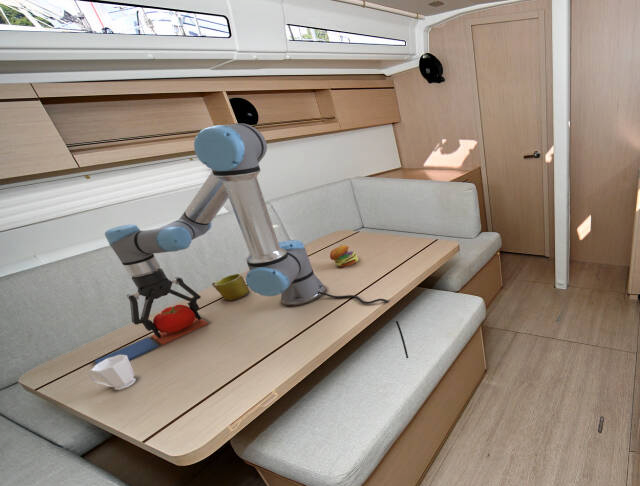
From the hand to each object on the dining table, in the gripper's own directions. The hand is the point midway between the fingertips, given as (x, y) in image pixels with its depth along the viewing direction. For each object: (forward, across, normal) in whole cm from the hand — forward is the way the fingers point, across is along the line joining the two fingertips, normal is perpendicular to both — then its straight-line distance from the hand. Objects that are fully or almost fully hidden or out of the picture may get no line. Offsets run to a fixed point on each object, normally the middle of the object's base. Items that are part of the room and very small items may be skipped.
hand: (179, 327), depth 123 cm
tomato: (0, 0, 0) cm, 0 cm away
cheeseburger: (+2, -61, +9) cm, 62 cm away
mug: (+2, -21, -10) cm, 23 cm away
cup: (+2, +20, +18) cm, 27 cm away
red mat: (+1, 0, 0) cm, 1 cm away
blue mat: (+1, +14, 0) cm, 14 cm away
